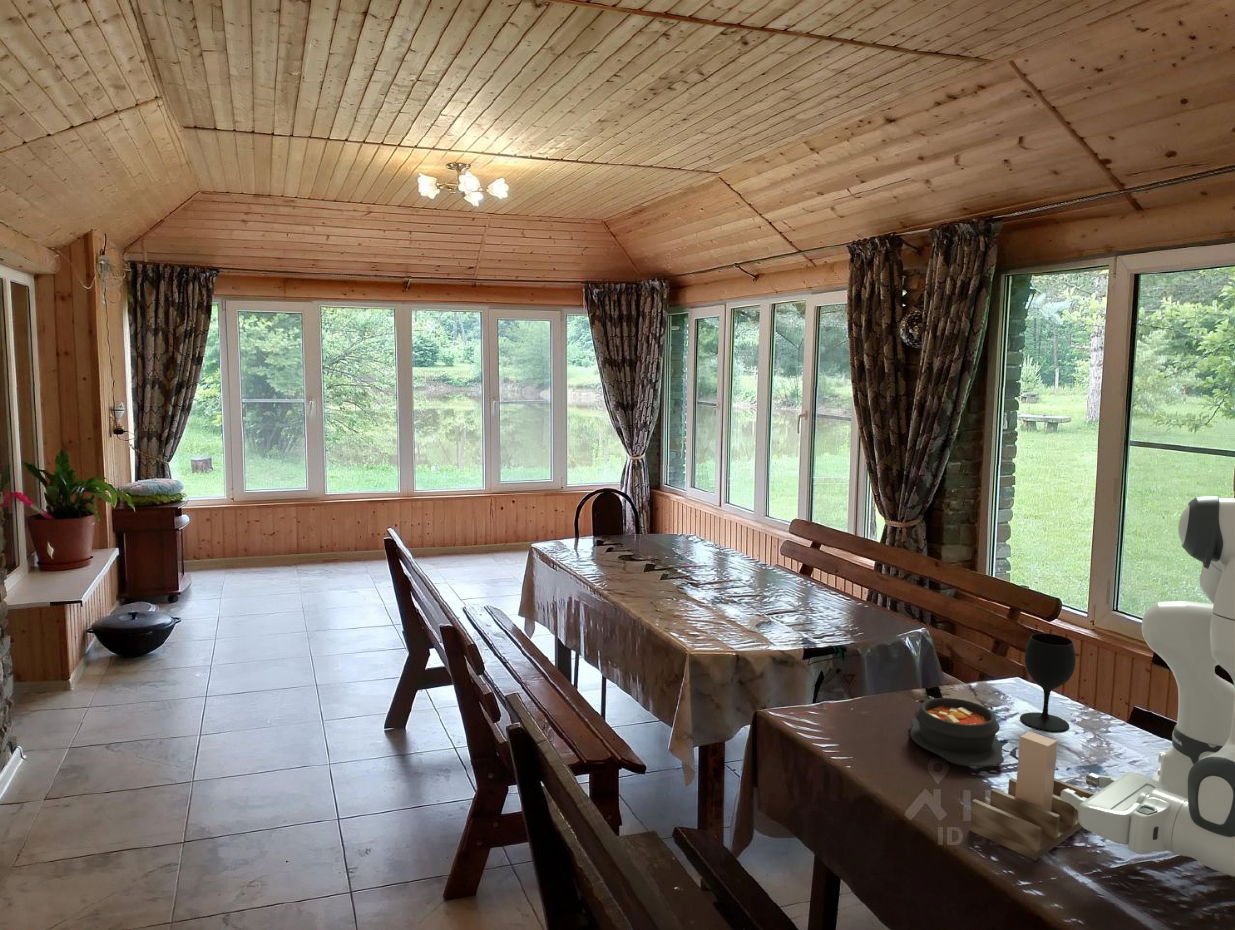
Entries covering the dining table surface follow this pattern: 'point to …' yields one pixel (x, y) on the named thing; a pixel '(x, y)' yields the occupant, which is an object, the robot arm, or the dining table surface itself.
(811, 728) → the dining table surface
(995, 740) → the casserole
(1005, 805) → the drying rack
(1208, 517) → the robot arm
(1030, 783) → the beige rectangular block
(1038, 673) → the wine glass
